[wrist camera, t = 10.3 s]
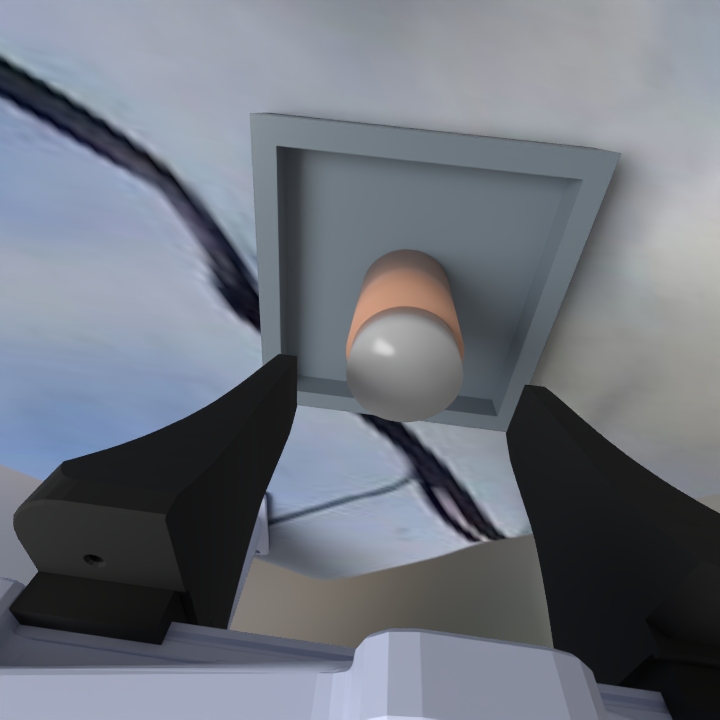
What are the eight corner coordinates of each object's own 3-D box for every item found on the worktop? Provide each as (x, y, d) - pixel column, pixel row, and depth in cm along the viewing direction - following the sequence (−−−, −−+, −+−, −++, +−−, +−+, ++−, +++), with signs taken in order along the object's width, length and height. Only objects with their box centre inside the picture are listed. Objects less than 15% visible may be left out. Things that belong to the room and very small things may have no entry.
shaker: (357, 325, 21) (336, 417, 15) (365, 244, 19) (345, 312, 13) (439, 336, 21) (453, 433, 15) (458, 255, 19) (484, 329, 12)
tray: (276, 376, 25) (264, 400, 23) (268, 112, 17) (249, 113, 15) (500, 404, 24) (510, 432, 22) (593, 147, 17) (621, 153, 15)
